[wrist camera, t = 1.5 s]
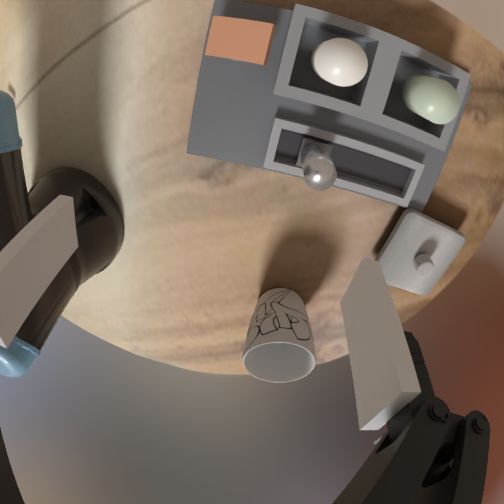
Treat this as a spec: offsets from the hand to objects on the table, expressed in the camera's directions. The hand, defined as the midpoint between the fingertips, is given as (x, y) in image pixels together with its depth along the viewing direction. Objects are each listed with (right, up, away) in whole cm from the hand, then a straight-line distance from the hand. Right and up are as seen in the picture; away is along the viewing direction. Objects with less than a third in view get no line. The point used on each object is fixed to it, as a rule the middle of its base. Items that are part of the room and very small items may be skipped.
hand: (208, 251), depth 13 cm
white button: (+8, +15, +8) cm, 19 cm away
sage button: (+16, +13, +8) cm, 22 cm away
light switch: (+22, +1, +23) cm, 31 cm away
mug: (+5, -8, +31) cm, 32 cm away
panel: (+10, +14, +14) cm, 22 cm away
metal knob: (+8, +10, +16) cm, 20 cm away
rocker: (+1, +17, +8) cm, 19 cm away
